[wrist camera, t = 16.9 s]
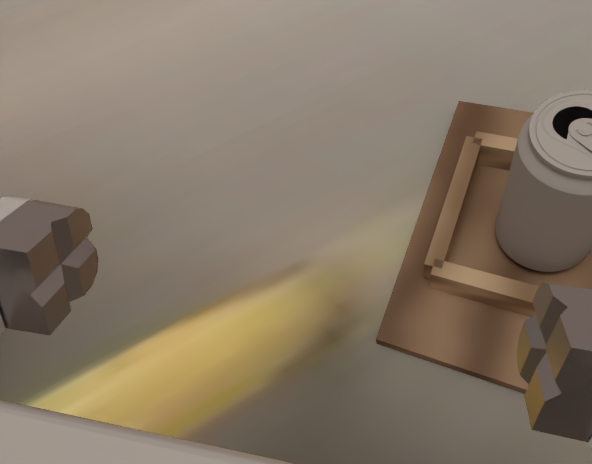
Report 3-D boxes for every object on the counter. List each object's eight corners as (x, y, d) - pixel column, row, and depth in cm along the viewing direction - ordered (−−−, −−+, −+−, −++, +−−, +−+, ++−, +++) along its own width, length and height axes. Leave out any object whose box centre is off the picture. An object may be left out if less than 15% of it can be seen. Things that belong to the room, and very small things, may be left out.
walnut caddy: (377, 343, 37) (373, 328, 34) (458, 108, 45) (461, 80, 42) (629, 429, 32) (652, 419, 28) (670, 143, 40) (691, 113, 37)
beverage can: (544, 183, 39) (589, 64, 29) (612, 244, 36) (689, 136, 26) (475, 227, 39) (495, 122, 28) (537, 294, 35) (586, 203, 25)
